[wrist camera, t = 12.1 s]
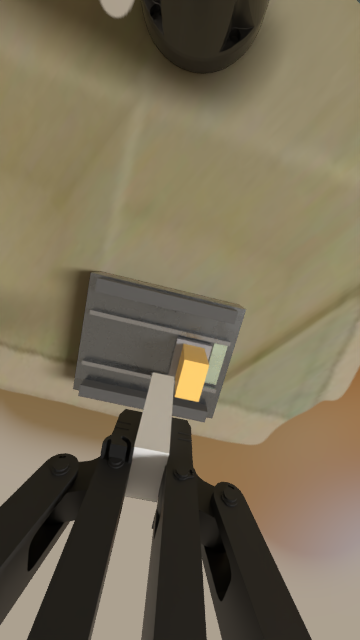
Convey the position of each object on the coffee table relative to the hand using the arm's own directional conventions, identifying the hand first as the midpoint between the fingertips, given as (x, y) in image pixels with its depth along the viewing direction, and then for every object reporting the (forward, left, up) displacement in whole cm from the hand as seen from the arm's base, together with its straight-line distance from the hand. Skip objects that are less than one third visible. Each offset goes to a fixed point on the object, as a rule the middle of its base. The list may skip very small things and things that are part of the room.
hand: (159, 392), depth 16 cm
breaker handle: (+4, +4, -18) cm, 19 cm away
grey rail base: (+4, -1, -22) cm, 23 cm away
